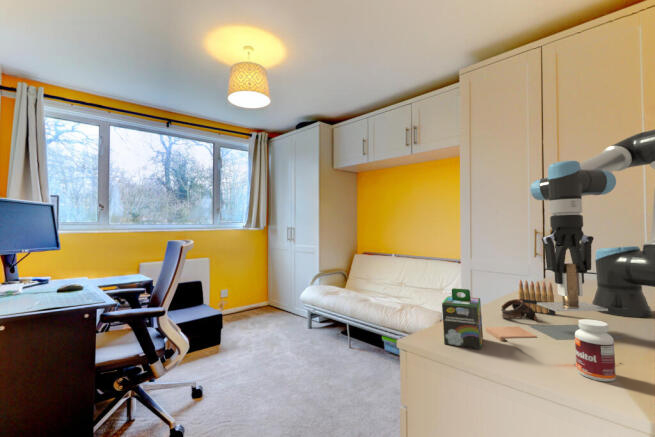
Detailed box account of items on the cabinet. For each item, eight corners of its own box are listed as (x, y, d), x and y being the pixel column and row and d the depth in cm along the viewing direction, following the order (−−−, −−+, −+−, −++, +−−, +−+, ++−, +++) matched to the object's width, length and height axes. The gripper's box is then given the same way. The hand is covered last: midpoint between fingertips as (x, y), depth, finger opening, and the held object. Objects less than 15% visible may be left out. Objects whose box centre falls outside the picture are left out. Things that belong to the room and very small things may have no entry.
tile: (518, 326, 91) (485, 327, 91) (536, 335, 83) (500, 336, 83) (518, 332, 91) (485, 332, 91) (536, 342, 83) (500, 342, 83)
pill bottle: (569, 369, 66) (566, 318, 66) (594, 367, 66) (591, 317, 67) (597, 383, 60) (593, 327, 60) (625, 381, 60) (621, 325, 61)
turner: (583, 303, 91) (581, 261, 91) (608, 310, 83) (605, 264, 83) (537, 304, 91) (534, 262, 92) (556, 311, 83) (554, 265, 84)
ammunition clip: (518, 312, 110) (516, 279, 110) (520, 311, 111) (518, 279, 111) (554, 318, 102) (552, 282, 102) (555, 317, 103) (553, 282, 104)
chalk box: (483, 339, 85) (480, 286, 86) (481, 350, 77) (478, 292, 78) (448, 334, 90) (446, 284, 90) (443, 344, 82) (440, 289, 82)
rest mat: (587, 327, 92) (586, 324, 92) (624, 341, 80) (624, 338, 80) (527, 328, 93) (527, 325, 93) (556, 342, 81) (556, 339, 81)
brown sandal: (543, 329, 93) (528, 306, 93) (512, 338, 98) (498, 316, 98) (536, 310, 104) (523, 289, 104) (508, 318, 108) (495, 299, 108)
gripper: (546, 214, 84) (550, 298, 83) (606, 213, 84) (611, 297, 83) (528, 215, 92) (532, 292, 91) (584, 214, 92) (588, 292, 91)
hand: (570, 295), depth 87 cm, fingers closed on turner, 4 cm apart
